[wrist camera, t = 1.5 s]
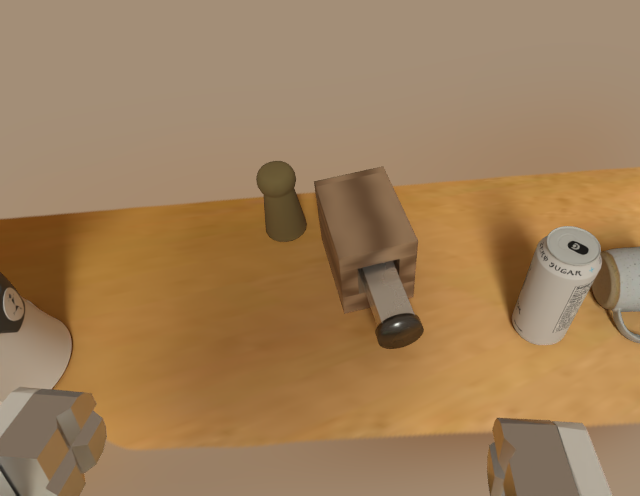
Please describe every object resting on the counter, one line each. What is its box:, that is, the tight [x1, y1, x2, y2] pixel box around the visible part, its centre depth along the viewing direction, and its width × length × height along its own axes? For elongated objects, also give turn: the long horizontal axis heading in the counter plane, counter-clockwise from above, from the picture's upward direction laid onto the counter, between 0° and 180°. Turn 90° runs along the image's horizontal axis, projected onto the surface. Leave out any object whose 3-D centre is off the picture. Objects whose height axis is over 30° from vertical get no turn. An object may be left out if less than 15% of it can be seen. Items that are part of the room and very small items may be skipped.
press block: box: [314, 167, 418, 314], centre depth 64 cm, size 9×13×11 cm
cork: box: [257, 161, 307, 242], centre depth 70 cm, size 6×6×11 cm
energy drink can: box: [512, 226, 602, 345], centre depth 54 cm, size 6×6×15 cm
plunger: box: [358, 261, 424, 349], centre depth 58 cm, size 5×13×5 cm, turn 13°
